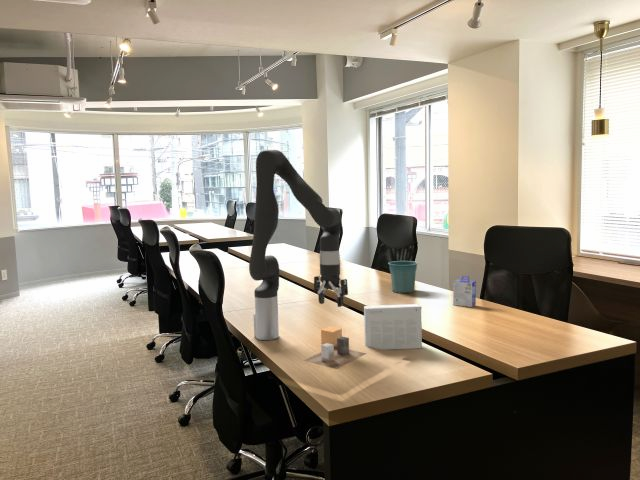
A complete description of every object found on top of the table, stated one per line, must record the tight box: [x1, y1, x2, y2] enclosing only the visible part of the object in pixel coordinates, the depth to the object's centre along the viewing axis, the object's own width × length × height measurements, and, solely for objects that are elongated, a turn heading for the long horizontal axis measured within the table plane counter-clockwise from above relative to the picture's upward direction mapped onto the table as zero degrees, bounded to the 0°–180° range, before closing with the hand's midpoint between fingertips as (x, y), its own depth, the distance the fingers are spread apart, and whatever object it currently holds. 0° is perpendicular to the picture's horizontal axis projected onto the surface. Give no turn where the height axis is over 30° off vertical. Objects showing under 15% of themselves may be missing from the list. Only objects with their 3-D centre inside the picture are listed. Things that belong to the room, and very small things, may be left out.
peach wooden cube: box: [320, 325, 343, 347], centre depth 192 cm, size 6×6×7 cm
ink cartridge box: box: [452, 275, 477, 308], centre depth 250 cm, size 10×6×14 cm, turn 53°
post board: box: [304, 336, 367, 370], centre depth 177 cm, size 14×18×7 cm
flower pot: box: [387, 260, 418, 294], centre depth 284 cm, size 16×16×16 cm
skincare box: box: [363, 303, 423, 351], centre depth 190 cm, size 21×5×16 cm, turn 92°
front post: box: [320, 343, 334, 363], centre depth 173 cm, size 3×3×6 cm
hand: (330, 305), depth 190 cm, fingers open, 8 cm apart
